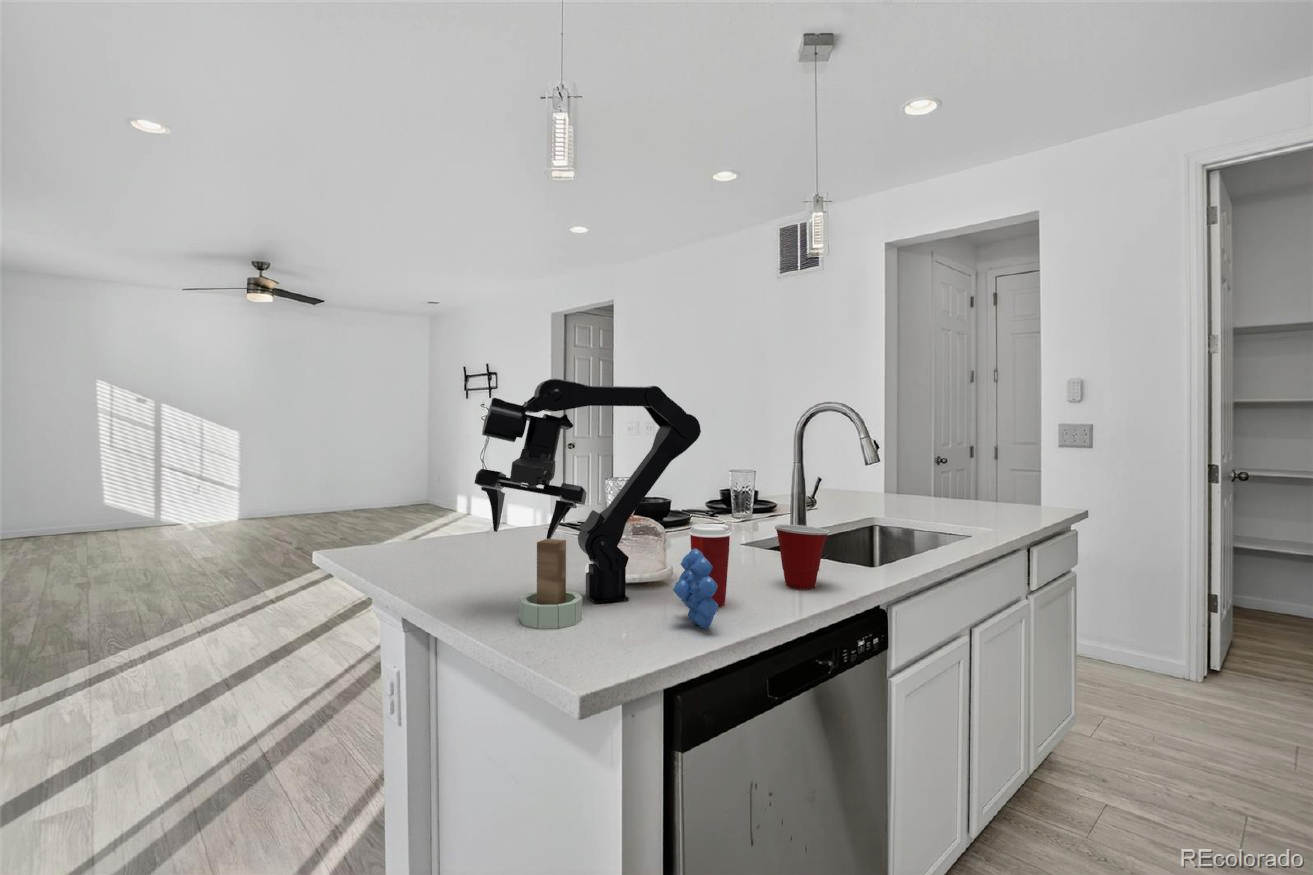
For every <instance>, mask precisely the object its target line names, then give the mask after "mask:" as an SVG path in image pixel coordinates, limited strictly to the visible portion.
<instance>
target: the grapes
mask: <svg viewBox="0 0 1313 875" xmlns="http://www.w3.org/2000/svg"><path fill="white" fill-rule="evenodd" d="M680 566H681V567H682V568H683V570H684V571H682V573H681V574H680V576H679V579H678V581H676V583H675V585H674V586H673V588H672V591H673V592H674V594H675V595H676V596H677V597H678V598H679V599H681V601H682V604H684V605H685V607H687V608H688V613H687V617H688V618H689V620H691V623H693V624H695V625H698V626H699V627H701V628H702V629H708V628H710V627H711V625H712V623H713V620H714V619H715V615H716V613H717V611H718V609H719V608H718V604H717V603H716V602H715V601H714V599H713V598H711V597H712V596H713V595H714V594H715V592H716V590H717V587H718V585H717V584H716V582H715V581H714V580H713V579H712V578H711V577H709V576H708V575H709V574H710V572H711V570H712V565H711V564H710V562H709V561H708V560H707V559H706V558H705V557H704V555H703V554H702V553H701V552H700V551H699V550H698V549H692V550H691V549H690V551H689V552H688V553H687V554H686V555H685V556H684V557H683V559H682V560H681V562H680Z"/></svg>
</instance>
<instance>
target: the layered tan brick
mask: <svg viewBox="0 0 1313 875" xmlns="http://www.w3.org/2000/svg"><path fill="white" fill-rule="evenodd" d="M566 591H567V540H566V539H559V538H557V539H555V538H551V539H546V538H545V539H542V540H540V541H537V542H536V592H537V604H539V605H557V604H562V603H566Z"/></svg>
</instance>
